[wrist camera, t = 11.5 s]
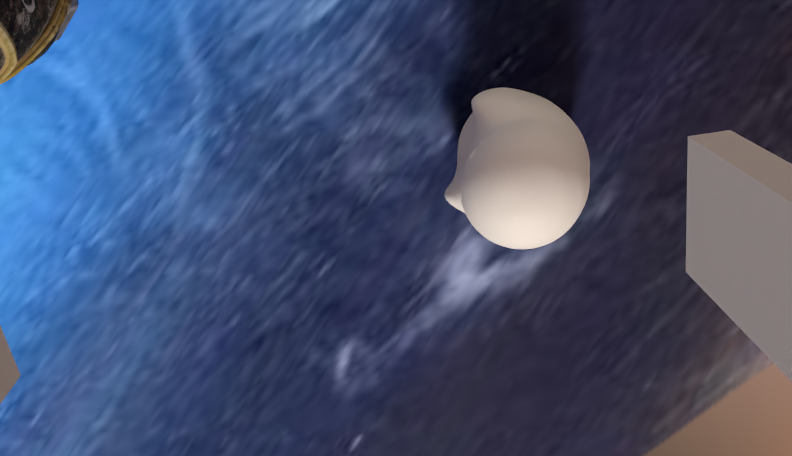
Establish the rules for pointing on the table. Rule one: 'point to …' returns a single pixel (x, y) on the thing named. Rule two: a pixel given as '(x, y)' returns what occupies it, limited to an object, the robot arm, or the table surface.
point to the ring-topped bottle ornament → (30, 31)
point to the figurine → (520, 169)
